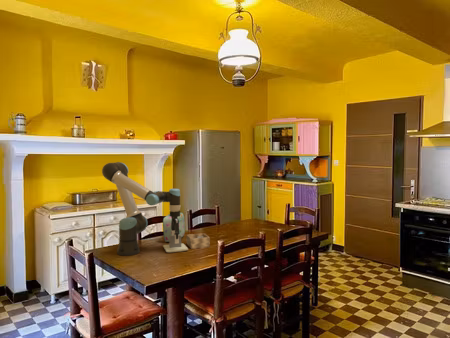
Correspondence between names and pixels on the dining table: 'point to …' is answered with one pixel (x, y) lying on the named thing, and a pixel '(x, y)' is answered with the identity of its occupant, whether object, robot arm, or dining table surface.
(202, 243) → the crate
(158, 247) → the dining table surface
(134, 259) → the dining table surface
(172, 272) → the dining table surface
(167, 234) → the lunch box
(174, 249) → the lid
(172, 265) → the dining table surface
